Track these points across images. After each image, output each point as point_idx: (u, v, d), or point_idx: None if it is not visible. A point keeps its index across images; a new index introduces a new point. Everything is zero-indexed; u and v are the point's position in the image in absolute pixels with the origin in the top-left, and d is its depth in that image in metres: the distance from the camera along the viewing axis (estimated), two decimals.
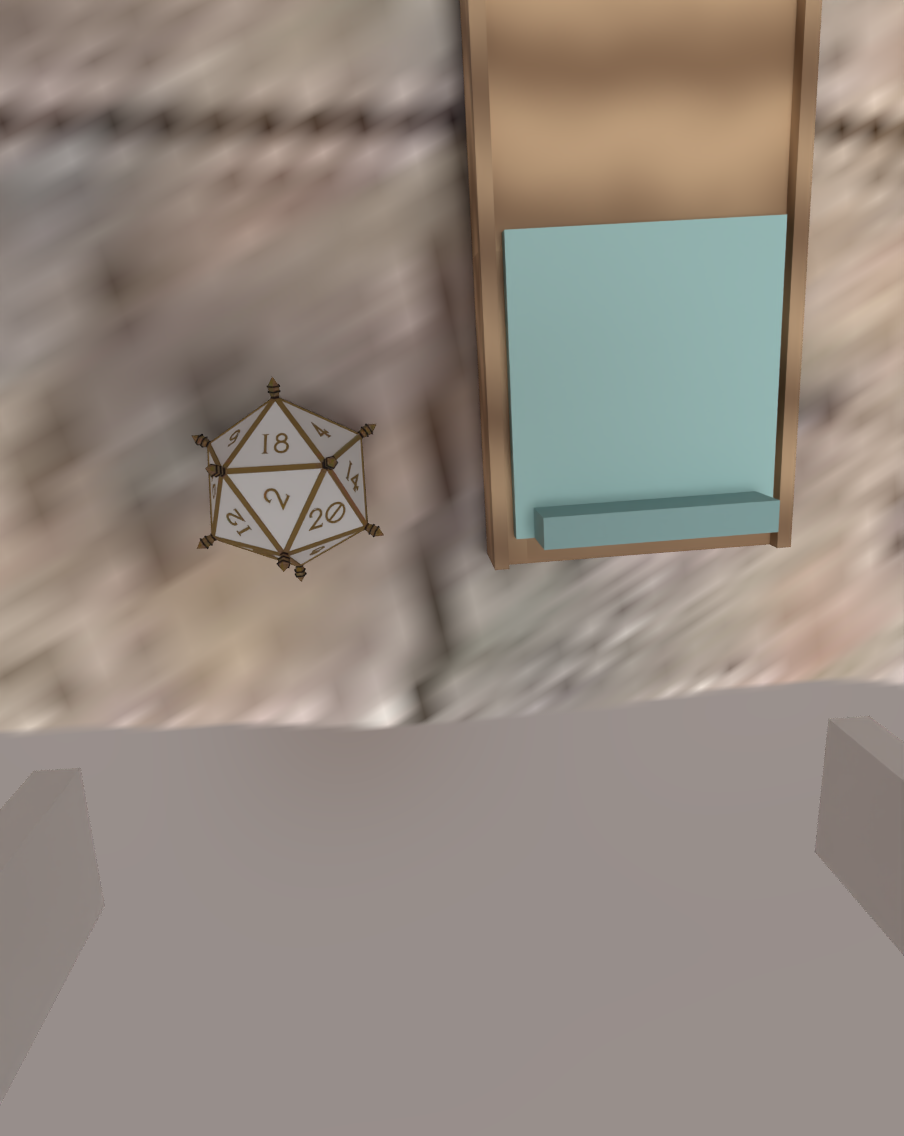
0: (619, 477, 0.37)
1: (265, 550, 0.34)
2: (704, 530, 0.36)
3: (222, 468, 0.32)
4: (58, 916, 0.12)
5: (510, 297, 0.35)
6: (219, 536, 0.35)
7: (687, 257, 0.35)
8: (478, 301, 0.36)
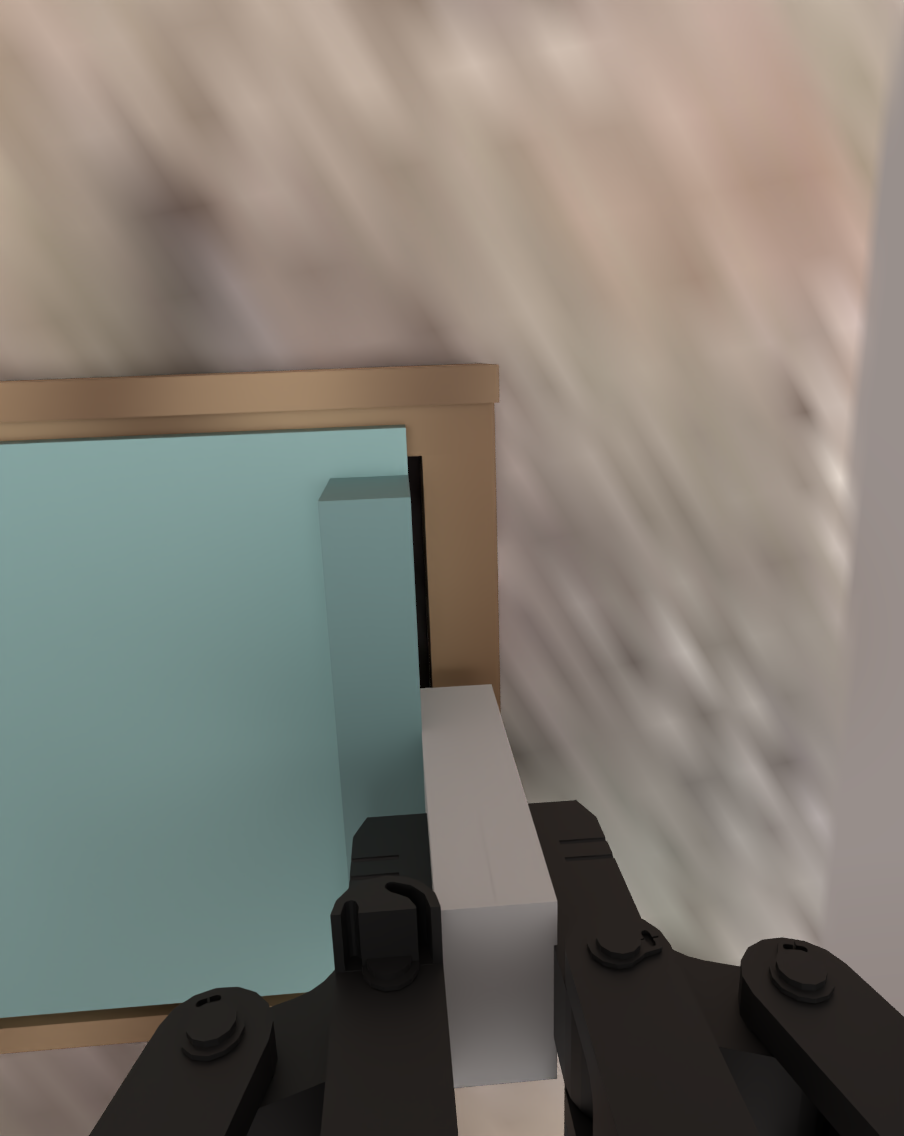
0: (299, 795, 0.17)
1: None
2: (400, 698, 0.14)
3: None
4: None
5: None
6: None
7: None
8: None
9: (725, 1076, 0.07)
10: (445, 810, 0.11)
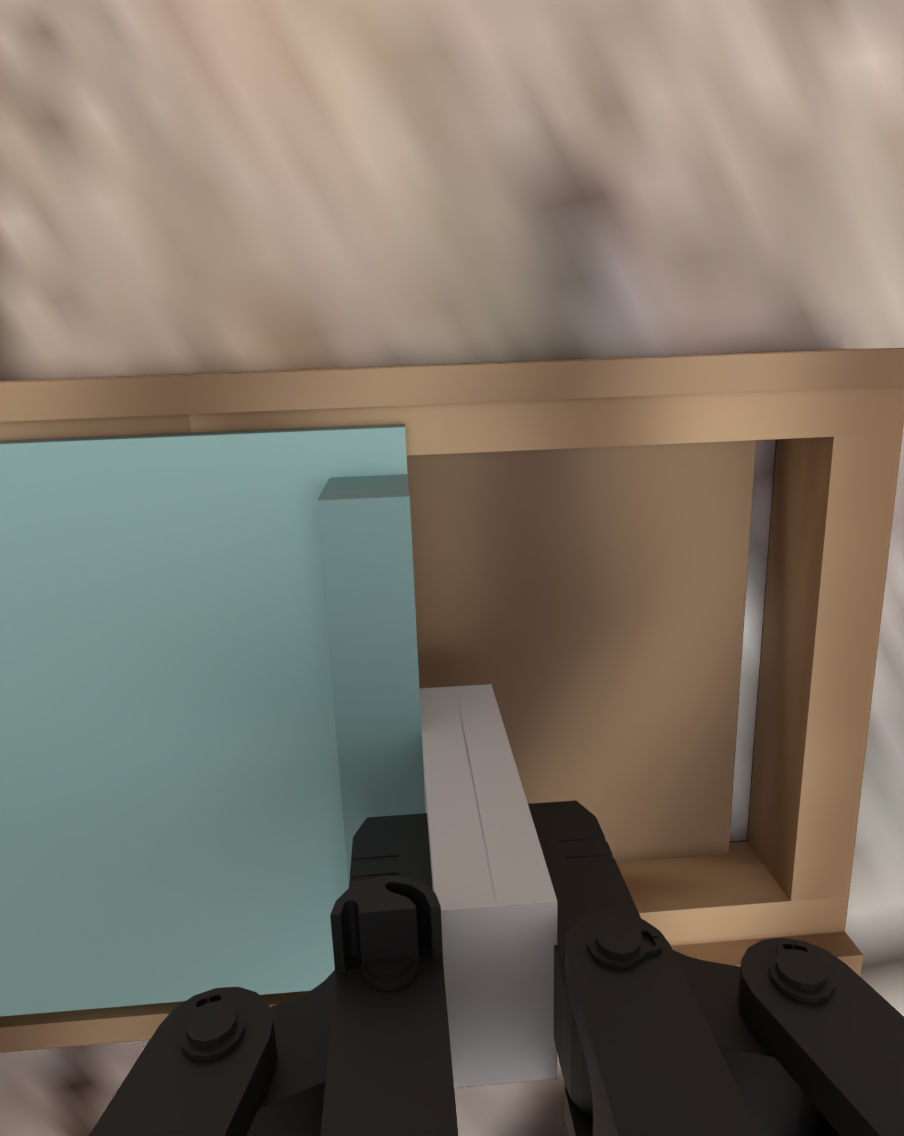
0: (299, 794, 0.17)
1: None
2: (400, 696, 0.14)
3: None
4: None
5: None
6: None
7: None
8: None
9: (725, 1076, 0.07)
10: (445, 810, 0.11)
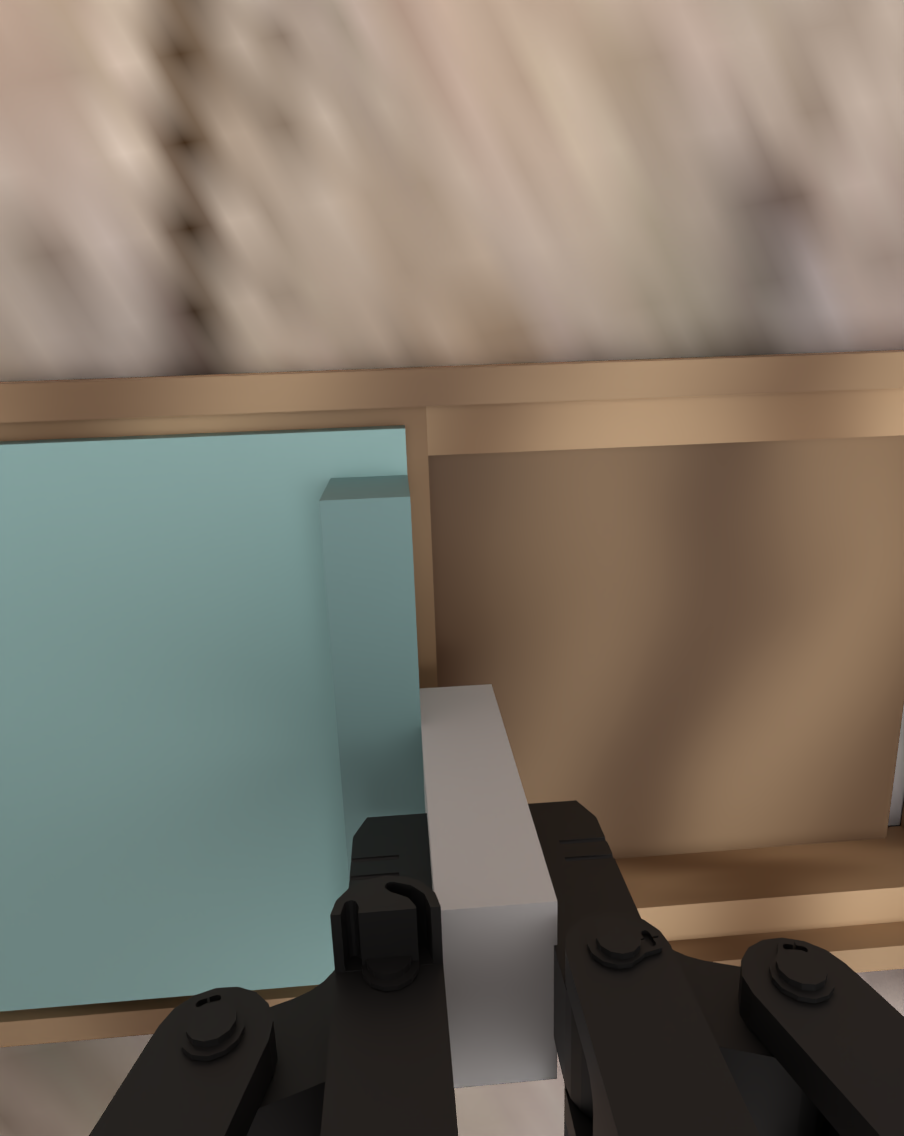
0: (300, 790, 0.17)
1: None
2: (400, 694, 0.14)
3: None
4: None
5: None
6: None
7: None
8: None
9: (725, 1076, 0.07)
10: (445, 810, 0.11)
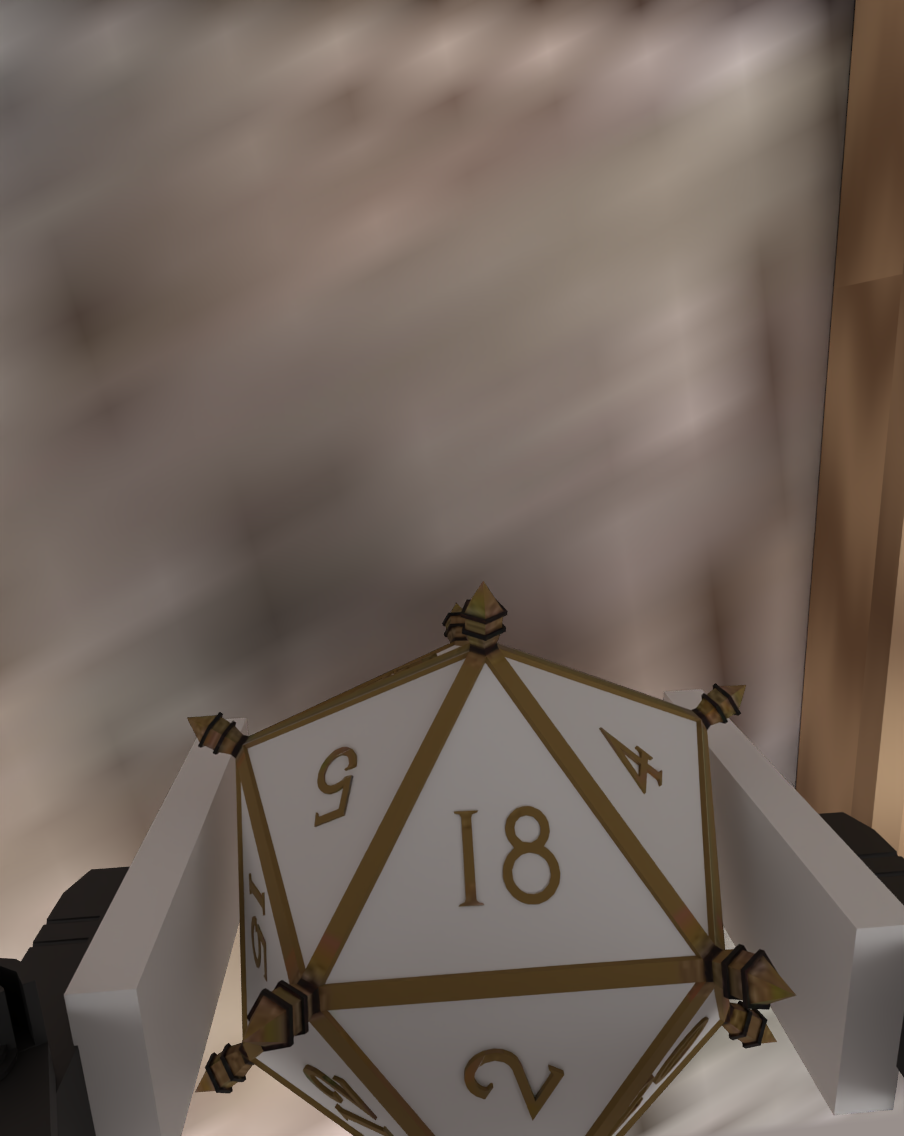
0: None
1: None
2: None
3: (306, 990, 0.08)
4: None
5: None
6: (269, 1068, 0.11)
7: None
8: (869, 380, 0.17)
9: None
10: (148, 867, 0.10)
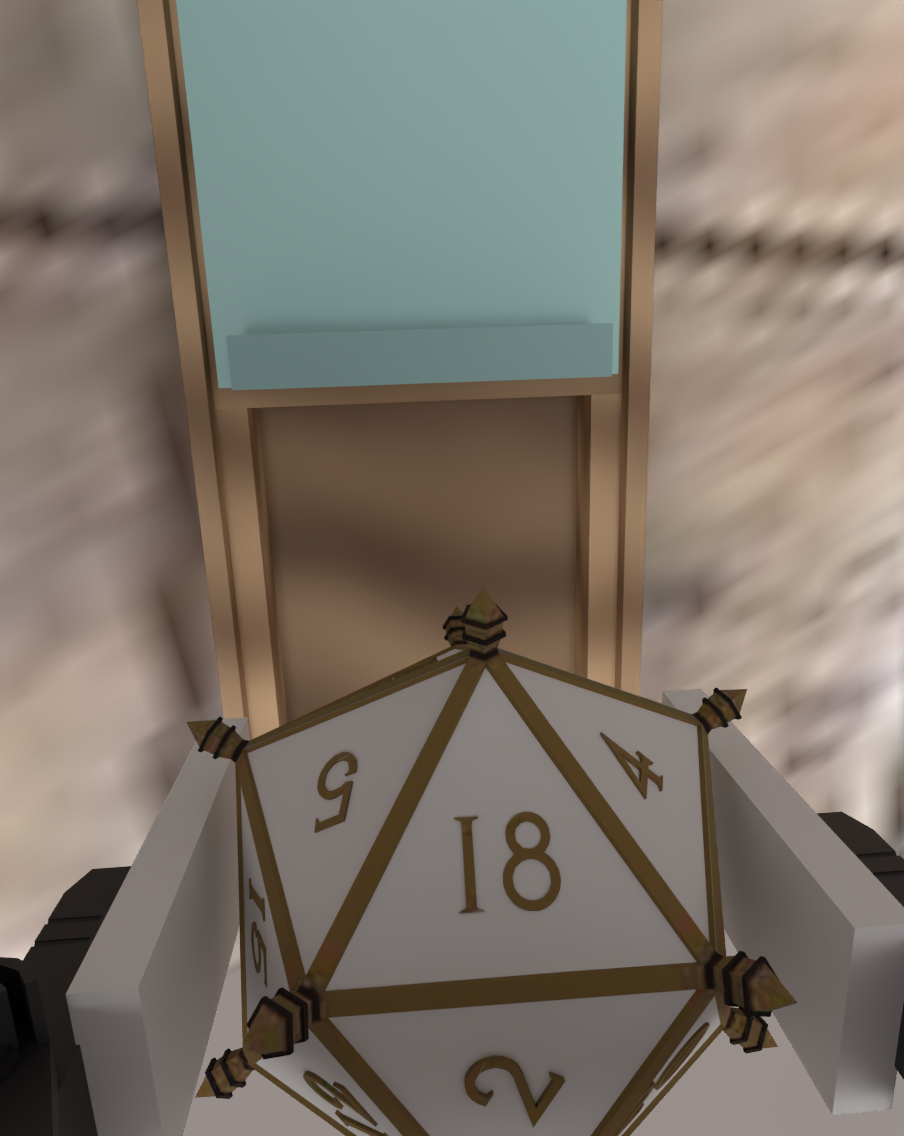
0: (376, 294, 0.24)
1: None
2: (492, 368, 0.23)
3: (307, 997, 0.08)
4: None
5: None
6: (269, 1073, 0.11)
7: None
8: None
9: None
10: (149, 867, 0.10)
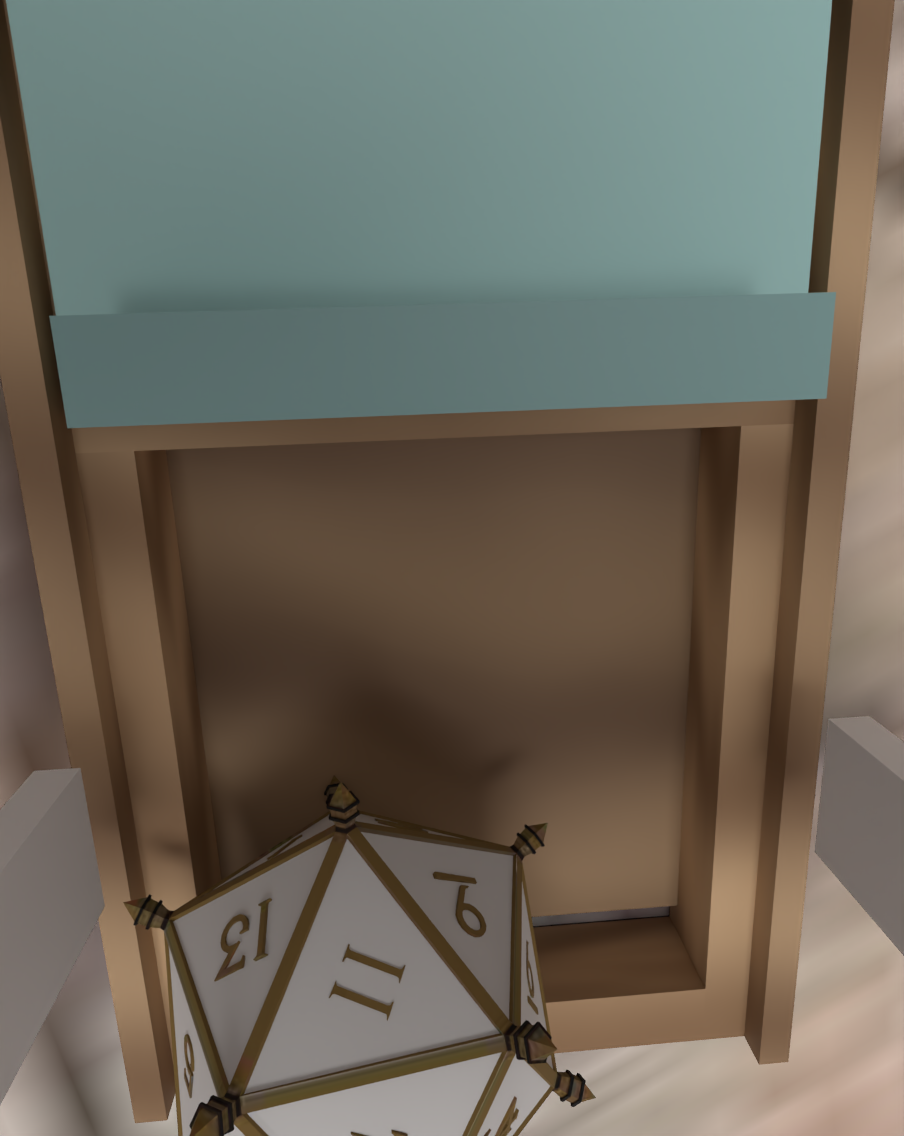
0: (363, 242, 0.13)
1: None
2: (593, 383, 0.11)
3: None
4: (58, 916, 0.12)
5: None
6: None
7: None
8: None
9: None
10: None
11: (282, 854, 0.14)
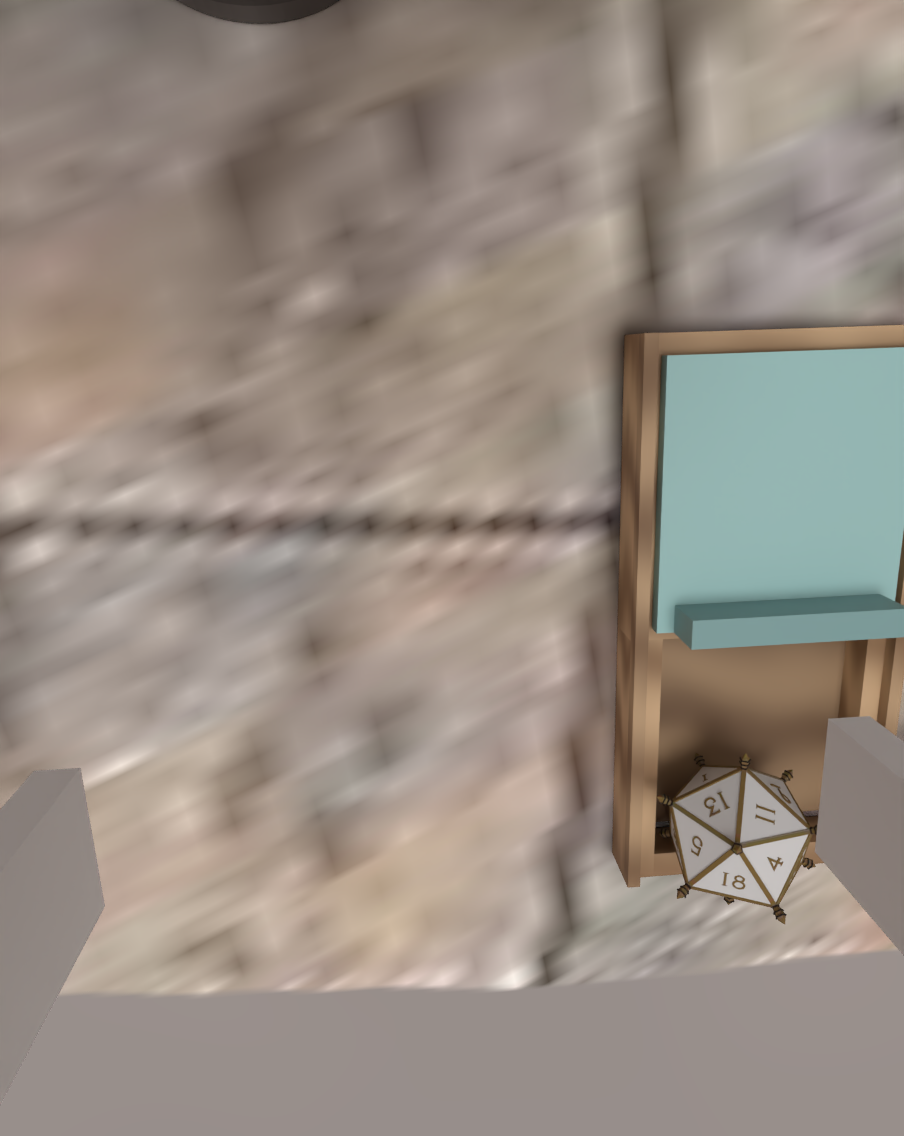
0: (755, 579, 0.40)
1: None
2: (839, 634, 0.39)
3: (688, 887, 0.41)
4: (58, 916, 0.12)
5: (668, 416, 0.38)
6: None
7: (832, 383, 0.38)
8: (625, 671, 0.43)
9: None
10: None
11: (719, 778, 0.41)
